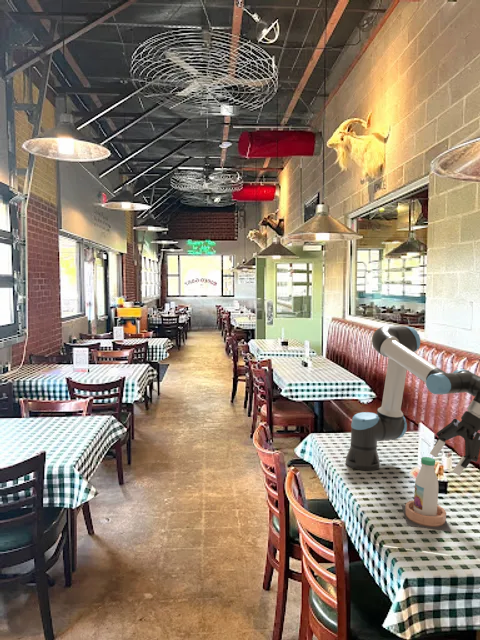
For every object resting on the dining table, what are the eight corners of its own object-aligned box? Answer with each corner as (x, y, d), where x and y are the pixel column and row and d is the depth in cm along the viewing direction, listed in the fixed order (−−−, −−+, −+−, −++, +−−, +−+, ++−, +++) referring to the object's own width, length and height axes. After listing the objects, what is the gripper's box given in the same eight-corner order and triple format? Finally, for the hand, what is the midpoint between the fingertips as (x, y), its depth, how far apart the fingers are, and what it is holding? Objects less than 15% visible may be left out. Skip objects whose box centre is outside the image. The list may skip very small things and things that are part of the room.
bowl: (408, 523, 158) (408, 514, 158) (403, 506, 171) (403, 498, 171) (449, 529, 156) (449, 519, 156) (440, 511, 168) (441, 502, 168)
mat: (407, 526, 157) (407, 525, 157) (401, 505, 173) (401, 504, 173) (451, 532, 154) (451, 531, 154) (441, 510, 170) (441, 509, 170)
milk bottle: (435, 511, 166) (439, 456, 165) (437, 521, 159) (441, 464, 158) (413, 507, 169) (416, 453, 167) (413, 517, 161) (416, 460, 160)
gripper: (509, 434, 158) (474, 486, 159) (460, 407, 182) (431, 452, 183) (494, 425, 156) (459, 477, 157) (447, 399, 180) (417, 444, 181)
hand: (443, 464), depth 170 cm, fingers open, 13 cm apart
